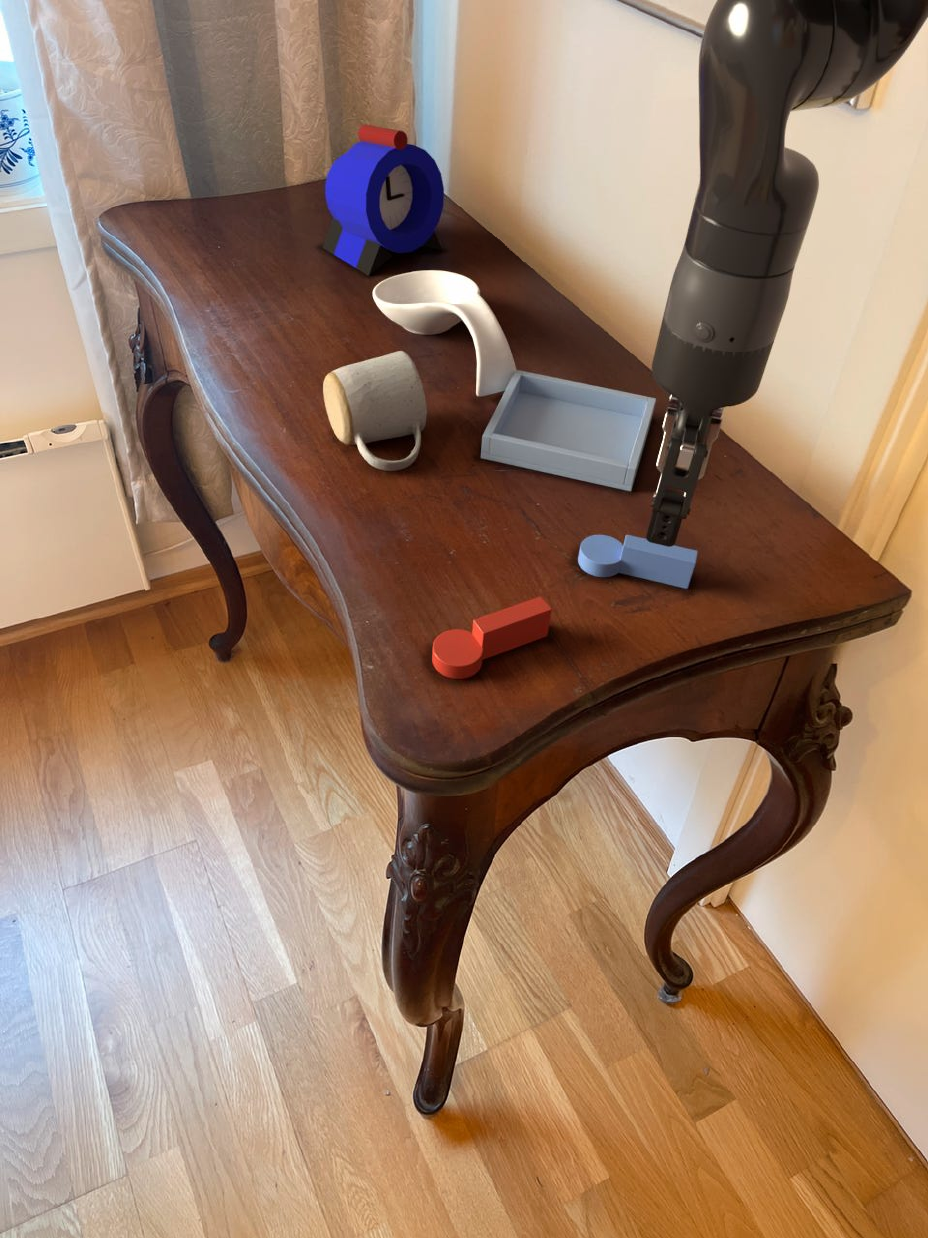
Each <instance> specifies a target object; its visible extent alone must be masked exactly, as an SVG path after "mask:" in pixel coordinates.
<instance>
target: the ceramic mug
mask: <svg viewBox="0 0 928 1238" xmlns="http://www.w3.org/2000/svg"><path fill="white" fill-rule="evenodd" d="M322 383H323V384H322V395H323V401H324V406H325V410H326V414H327V418H328V421H329V424H330V426H331V429H332V431H333V433H334V435H335V436H336V438H337V439H338V440H339V441H340V442H341V443H343V444H344V445H347V446H352V445H353V446H357V449H358V452H359V454H360V455H361V456H362V458H363V459H364V460H365V461H366V462H367V463H368V464H369V465H370V466H372V467H373V468H375V469H378V470H381V471H386V472H395V471H400V470H405V469H406V468H408V467H409V466H411V465H413V463H414V462H415V461H416V459H417V457H418V455H419V452H420V449H421V442H422V436H421V435H422V434H421V433H422V431H424V429H425V427H426V422H427V411H428V410H427V402H426V396H425V391H424V386H423V382H422V380H421V377H420V375H419V371H418V369H417V367H416V365H415V363H414V361H413V359H412V358H411V357H410V355H409V354H408V353H406V352H405V351H403V350H400V351H399V350H398V351H395V352H391V353H388V354H384V355H381V356H376V357H373V358H370V359H366V360H364V361H363V360H362V361H359V362H356V363H355V362H354V363H351V364H347V365H343V366H341V367H338V368H336V369H334V370H332V371H330V372H329V373H327V374H326V375H325V377H324V380H323V382H322ZM410 435H413V437H414V445H415V446H414V447H413V449H412V450H411V451H410V454H409V455H407V456H406V458H402V459H400V460H390V459H389V460H388V459H383V458H380V457H378V456H376V455H375V454H373V453H372V452H371V451H370V450H369V448H368V447H367V445H366V444H369V443H374V442H378V441H384V440H391V439H396V438H401V437H405V436H410Z"/></svg>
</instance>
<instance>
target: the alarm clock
mask: <svg viewBox="0 0 928 1238" xmlns="http://www.w3.org/2000/svg"><path fill="white" fill-rule="evenodd" d="M357 133H358V134H357V135H358V136H357V137H358V140H359V142H357V143H355V144H353V145H352V146H351V147H350V148H349V150H347V152H345V153H343V154H341V155H340V156H339V157H337V159H336V160H335V161H334V162H333V163H332V165H331V167H330V169H329V171H328V172H327V175H326V181H325V186H324V189H325V191H324V192H325V195H324V196H325V201H326V205H327V208H328V210H329V213H330V214H331V216H332V219H331V222H330V225H329V228H328V231H327V233H326V236H325V240H324V242H323V245H322V249H323V250H326V251H327V252H329V253H330V254H332V255H334V256H335V257H337V258H339V259H340V260H342V261H344V262H345V263H347V264H349V265H350V266H351V267H353V268H355V269H356V270H358V271H360V272H362V273H363V274H364V275H366V276H368V277H369V276H370V275H371V274H373V273H374V272H375V271H376V270H377V269H378V268H379V267H380V266H381V267H382V265H383V264H384V263H386V262H387V261H388V260H389V259H390V258H391V257H392V256H393V255H392V254H391V253H390V252H394V253H397V254H404V253H412V252H414V251H415V250H417V249H419V248H420V247H427V248H432V249H436V250H440V251H444V249H443V246H442V244H441V242H440V240H439V237H438V235H437V232H436V229H437V228H438V227H437V226H438V225H439V223H440V220H441V217H442V212H443V208H444V201H445V199H444V198H445V187H444V182H443V181H444V180H443V176H442V173H441V170H440V168H439V166H438V164H437V162H436V160H435V159H434V157H432V155H431V154H430V153H429V152H428V151H427V150H426V149H424V148H422V147H420V146H417V145H415V144H411V143H408V141H409V140H408V139H409V138H408V135H407V133H406V132H405V131H403V130H399V129H392V128H387V127H381V126H378V125H377V126H375V125H369V124H362V125H361V126H360V127H359V129H358V131H357ZM389 251H390V252H389Z"/></svg>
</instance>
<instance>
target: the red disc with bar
mask: <svg viewBox="0 0 928 1238" xmlns="http://www.w3.org/2000/svg"><path fill="white" fill-rule="evenodd" d="M552 610H553V609H552V608H551V606H550V605H549V604H548V603H547V602H546V600H545V599H544V598H543V597H542V596H537V597H535V598H532V599H529V600H526V601H524V602H520V603H518V604H515V605H512V606H509V607H506V608H504V609H500V610H498V611H495V612H492V613H489V614H486V615H483V616H480V617H478V618H475V619H473V621H472V629H471V631H469V630H467V629H461V628H454V629H448V630H445V631H443V632H441V633H439V635H438V636H436V638H434V641H433V644H432V652H431V653H432V656H431V657H432V658H431V661H432V662H431V663H432V665H433V667H434V669H435V670H436V671H437V672H438V673H439V674H440V675H441V676H443V677H446V678H449V679H453V680H464V679H469V678H471V677H473V676H474V675H476V674H477V673H478V672H479V671H480V669H481V667H482V665H483V660H487V659H488V658H491V657H494V656H497V655H499V654H502V653H506V652H508V651H510V650H513V649H515V648H519V647H521V646H524V645H527V644H530V643H532V642H535V641H538V640H540V639H543V638H546V637H548V634H549V628H550V622H551V617H552V616H551V615H552Z"/></svg>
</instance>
